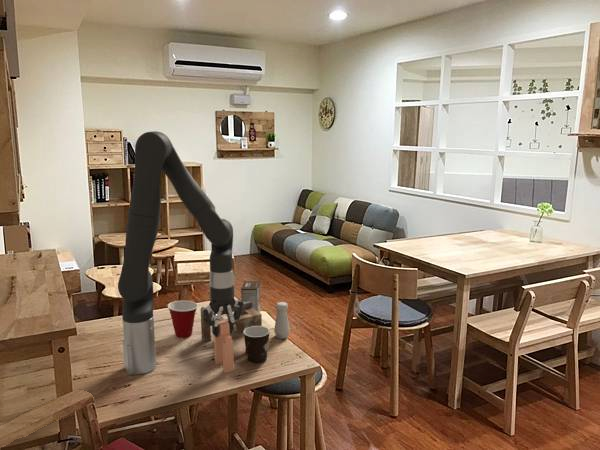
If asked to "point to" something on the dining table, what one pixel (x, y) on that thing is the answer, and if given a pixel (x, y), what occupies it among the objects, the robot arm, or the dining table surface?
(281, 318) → the salt shaker
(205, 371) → the dining table surface
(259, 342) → the coffee mug
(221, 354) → the stepped pink block
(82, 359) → the dining table surface
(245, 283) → the coffee box
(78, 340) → the dining table surface
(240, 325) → the square wooden frame
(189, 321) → the plastic cup
